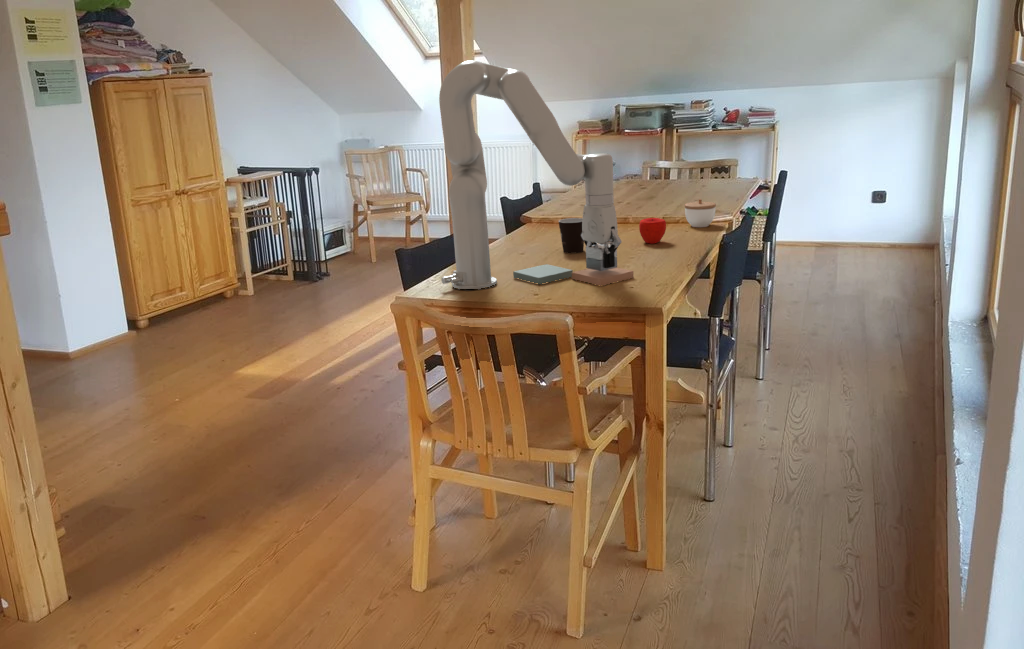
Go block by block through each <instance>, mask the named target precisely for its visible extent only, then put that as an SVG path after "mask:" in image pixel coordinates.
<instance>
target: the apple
mask: <svg viewBox="0 0 1024 649" xmlns="http://www.w3.org/2000/svg"><path fill="white" fill-rule="evenodd" d="M638 228H639V233H640V236H641V238H642V240H643V242H644V243H646V244H657V243H659V242H660V241H661V240H662V239H663V237H664V235H665V233H666V230H667V222H666V220H665V219H663V218H661V217H660V218H659V217H648V218H647V217H646V218H643V219H640V221H639V225H638Z"/></svg>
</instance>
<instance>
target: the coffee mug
mask: <svg viewBox="0 0 1024 649" xmlns="http://www.w3.org/2000/svg"><path fill="white" fill-rule="evenodd" d="M582 219H583V217H570V218H563V219H559V220H558V226H559V228H558V229H559V233H560V238H561V239H560V240H561V244H562V252H563V253H564V254H579V253H583V252H584V247H585V246H584V245H585V243H584V240H583V239H582V237H581V234H582Z"/></svg>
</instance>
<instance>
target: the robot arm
mask: <svg viewBox="0 0 1024 649" xmlns="http://www.w3.org/2000/svg"><path fill="white" fill-rule="evenodd" d="M475 95H478V96H484V97H489V98H493V99H498V100H501V101H502V100H503V101H504V103H505V104H506V105H507V107H508V108H509V110H510V111H511V113H512V115H514V117H515V118H516V120H517V122H518V123H519V125H520V126H521V127H522V129H523V130H524V132H525V133H526V135H527V136H528V139H530V141H531V142H532V144H533V145H534V146H535V147H536V149H537V150H538V152H539V153H540V155H541V156H542V158H543V159H544V161H545V162H546V163H547V165H548V166H549V167H550V170H551V171H552V172H553V174H554V175H555V177H556V178H557V179H558V181H559V182H560V183H561V184H563V185H565V186H569V187H570V186H575V185H578V184H579V183H580V182H582V180H584V186H585V192H584V193H585V194H584V195H585V205H583V210H582V218H583V219H582V234H581V237H582V239H583V240H584V245H585V248H586V247H587V246H592V245H596V244H604V248H605V251H606V254H604V260H605V268H610V267H614V266H615V255H614V253H615V252H616V249H617V250H618V248H619V246H620V245H621V244H622V239H621V237H620V236H619V234H618V230H619V229H618V220H617V213H616V207H615V202H614V201H615V200H614V199H615V198H614V196H615V195H614V167H613V166H614V163H613V160H614V159H613V156H612V155H611V154H609V153H605V152H604V153H603V152H602V153H590V154H580V153H576V152H575V151H574V149H573V147H572V146H571V144H570V143H569V141H568V139H567V138H566V137H565V135H564V133H563V132H562V130H561V128H560V126H559V123H558V120H557V119H556V117H555V116H554V114H553V112H552V111H551V109H550V108H549V107H548V105H547V103H546V102H545V100H544V99H543V98H542V96H541V95H540V94H539V92H538V90H537V88H536V87H535V86H534V84H533V82H532V81H531V80H530V77H529V76H528V75H527V74H526V72H524V71H523V70H519V69H513V68H507V67H503V66H500V65H495V64H490V63H486V62H482V61H477V60H474V59H473V60H470V59H469V60H465V61H463V62H461V63H459V64H458V65H456V66H455V67H453V68H452V69H451V70H450V71H449V72H448V73H447V75H446V76H445V77H444V78H443V81H442V83H441V86H440V89H439V97H438V98H439V99H438V101H439V102H438V103H439V111H440V119H441V128H442V135H443V136H442V138H443V142H444V143H443V144H444V146H443V147H444V153H445V156H446V158H447V160H448V161H449V163H450V170H451V176H452V179H451V180H450V184H449V185H448V186H449V187H448V199H449V206H450V212H451V213H450V214H451V221H452V224H451V225H452V234H453V244H454V245H453V246H454V257H455V258H454V260H455V267H456V268H455V269H456V270H452V273H451V274H450V275H446V276H442V277H441V280H440V281H441V283H442V284H443V285H445V284H449V283H450V284H451V286H453V287H454V288H453V287H452V288H453V289H455V288H458V289H457V290H460V289H478V290H482V289H481V288H485V287H489V288H491V287H490V286H492V285H494V286H496V285H497V284H498V280H497V278H496V277H494V276H492V272H491V271H492V270H491V258H490V257H491V255H490V243H489V231H488V230H489V228H488V218H487V217H488V215H487V205H486V192H487V187H488V181H487V172H486V166H485V158H484V150H483V144H482V140H481V138H480V137H479V135H478V133H477V132H476V130H475V129H476V128H475V124H474V123H475V122H474V112H473V107H472V102H473V100H472V99H473V97H474V96H475ZM608 244H609V245H610V247H609V246H608ZM496 283H497V284H496ZM495 284H496V285H495ZM492 287H493V286H492ZM485 289H486V288H485Z"/></svg>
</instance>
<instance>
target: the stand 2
mask: <svg viewBox="0 0 1024 649" xmlns="http://www.w3.org/2000/svg"><path fill="white" fill-rule="evenodd" d="M630 278H632V279H634V270H631V269H627V268H620V267H617V268H613V269H608V270H604V271H597V270H593V269H588V268H585V269H581V270H575V271H573V272H572V277H571V280H572V279H575V280H574V281H577V280H580V281H579V282H581V281H584V282H583V283H585V282H588V283H587V284H589V283H592V284H591V285H593V284H596V285H595V286H597V285H600V286H599V287H602V286H601V285H604V286H606V284H608V285H611V284H610V283H612V284H614V283H613V282H616V283H618V282H617V281H620V282H623V281H622V280H624V281H627V280H626V279H628V280H630Z"/></svg>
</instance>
